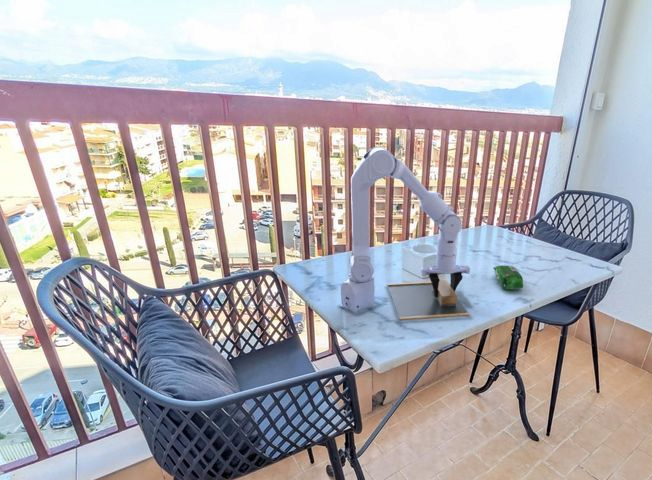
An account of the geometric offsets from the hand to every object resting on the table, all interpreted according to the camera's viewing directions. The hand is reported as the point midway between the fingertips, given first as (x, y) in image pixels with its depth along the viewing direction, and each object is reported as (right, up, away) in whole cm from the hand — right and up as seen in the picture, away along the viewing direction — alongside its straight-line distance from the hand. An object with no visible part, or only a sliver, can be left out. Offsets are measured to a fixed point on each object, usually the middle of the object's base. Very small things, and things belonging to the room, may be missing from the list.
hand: (443, 295), depth 122 cm
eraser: (0, -1, 0) cm, 1 cm away
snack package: (+23, +5, +13) cm, 27 cm away
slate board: (-6, -2, 0) cm, 6 cm away
